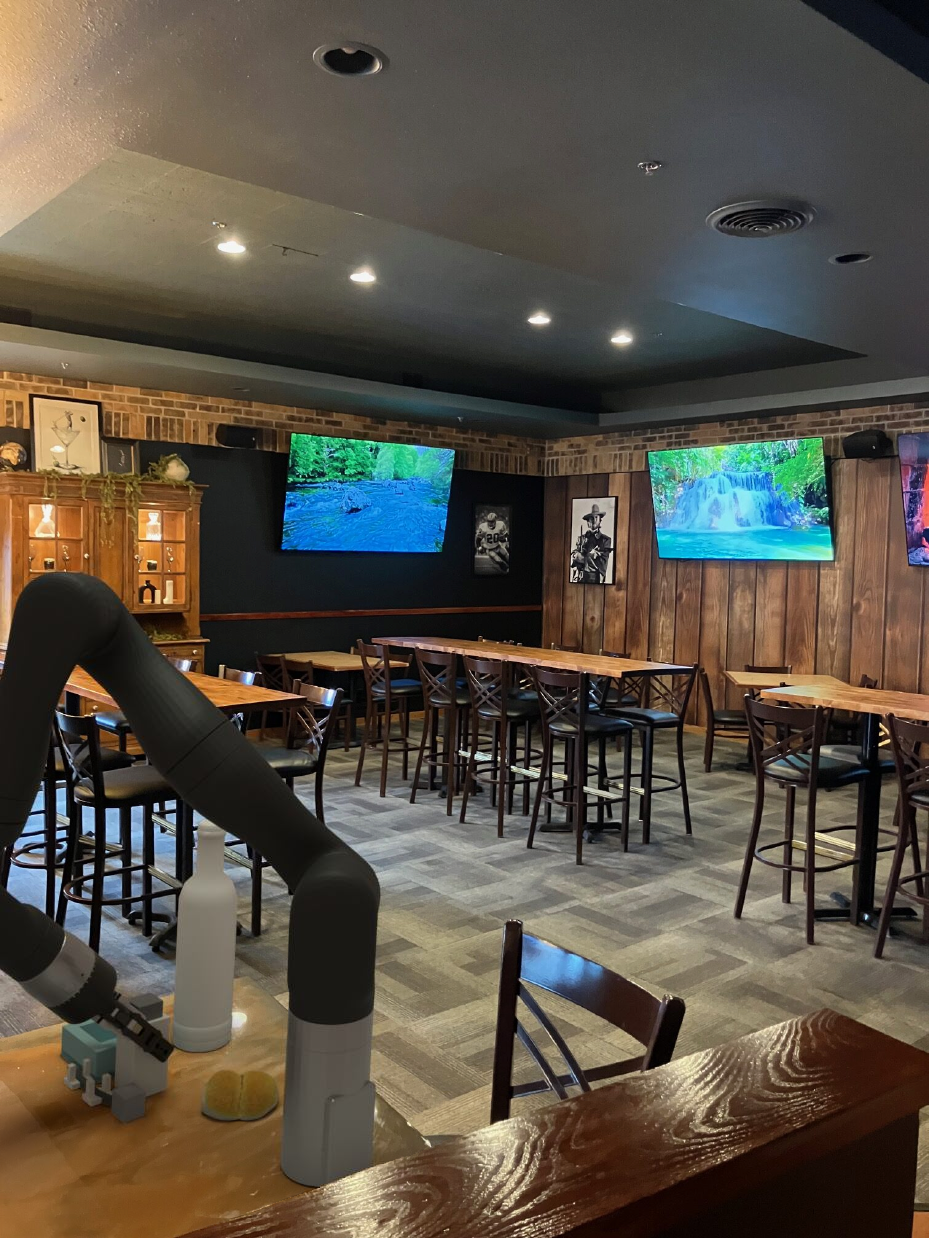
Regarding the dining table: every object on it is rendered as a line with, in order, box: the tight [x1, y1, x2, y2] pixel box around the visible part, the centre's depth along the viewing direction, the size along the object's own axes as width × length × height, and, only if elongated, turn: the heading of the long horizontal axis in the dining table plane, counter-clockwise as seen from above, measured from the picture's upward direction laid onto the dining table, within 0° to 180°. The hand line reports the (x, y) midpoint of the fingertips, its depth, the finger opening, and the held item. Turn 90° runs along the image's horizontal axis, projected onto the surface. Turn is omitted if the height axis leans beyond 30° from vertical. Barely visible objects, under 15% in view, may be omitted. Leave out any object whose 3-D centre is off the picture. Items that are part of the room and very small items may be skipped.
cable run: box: [62, 1058, 147, 1124], centre depth 118 cm, size 14×4×3 cm, turn 47°
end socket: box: [60, 1019, 117, 1086], centre depth 127 cm, size 10×10×4 cm
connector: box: [114, 992, 171, 1097], centre depth 120 cm, size 4×4×11 cm
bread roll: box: [200, 1069, 280, 1121], centre depth 118 cm, size 8×9×4 cm
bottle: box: [171, 818, 239, 1053], centre depth 133 cm, size 8×8×30 cm
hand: (156, 1045), depth 122 cm, fingers open, 5 cm apart
